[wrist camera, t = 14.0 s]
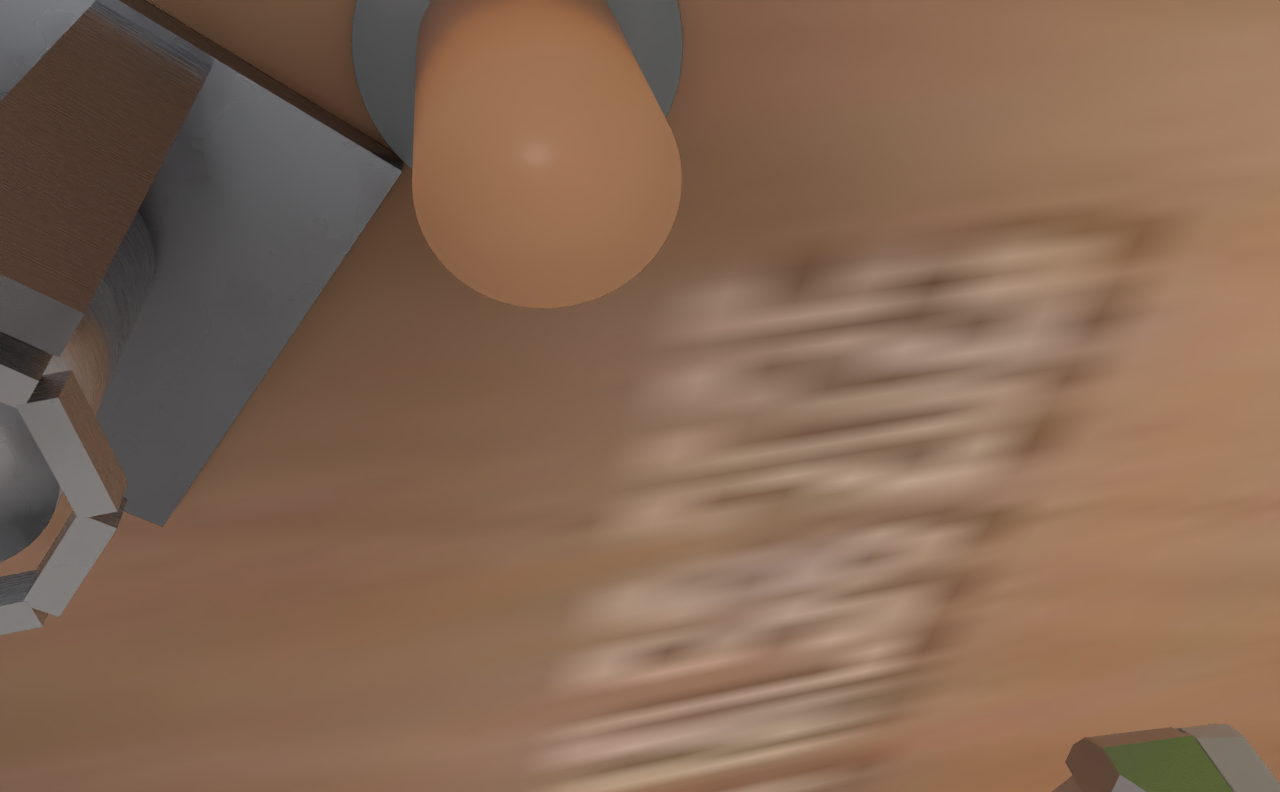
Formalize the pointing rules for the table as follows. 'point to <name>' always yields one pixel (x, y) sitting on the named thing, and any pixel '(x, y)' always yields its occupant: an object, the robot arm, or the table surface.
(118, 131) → the grey ridged piece
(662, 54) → the grey rounded piece
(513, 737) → the table surface
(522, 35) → the tan rounded piece
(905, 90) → the table surface
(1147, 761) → the robot arm
